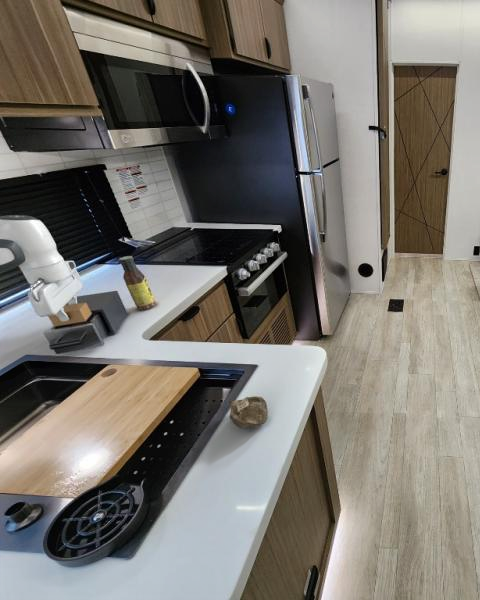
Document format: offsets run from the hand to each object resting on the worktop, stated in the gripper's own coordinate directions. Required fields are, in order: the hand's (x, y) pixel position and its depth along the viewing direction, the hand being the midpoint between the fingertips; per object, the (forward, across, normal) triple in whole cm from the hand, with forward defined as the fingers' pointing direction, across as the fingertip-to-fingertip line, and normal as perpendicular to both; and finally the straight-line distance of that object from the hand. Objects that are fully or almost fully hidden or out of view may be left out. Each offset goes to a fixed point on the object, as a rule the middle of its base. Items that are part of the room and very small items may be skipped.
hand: (70, 314), depth 99 cm
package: (+2, 0, 0) cm, 2 cm away
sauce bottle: (+11, +22, -12) cm, 27 cm away
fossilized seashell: (+11, -53, -48) cm, 72 cm away
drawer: (+10, 0, 0) cm, 10 cm away
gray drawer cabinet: (+11, +11, 0) cm, 15 cm away
